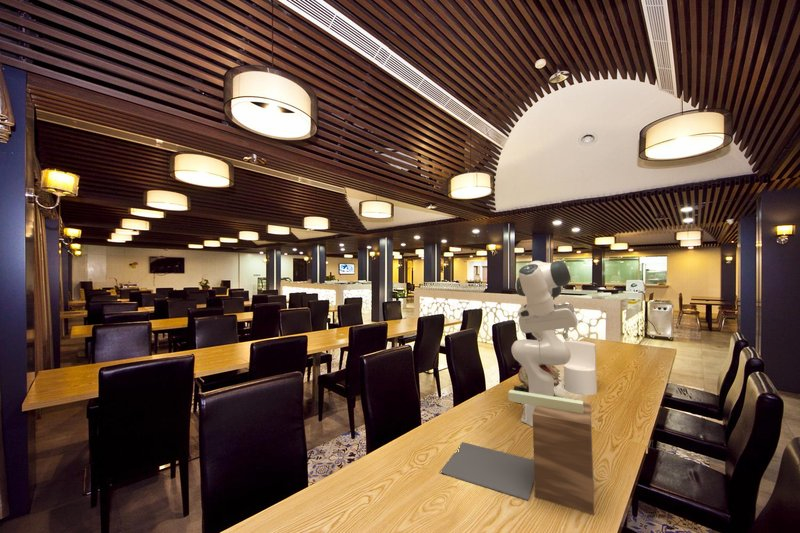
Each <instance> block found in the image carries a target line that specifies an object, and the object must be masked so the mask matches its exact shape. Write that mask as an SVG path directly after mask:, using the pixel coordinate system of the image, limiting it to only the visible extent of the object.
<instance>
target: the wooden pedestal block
mask: <svg viewBox="0 0 800 533" xmlns="http://www.w3.org/2000/svg"><path fill="white" fill-rule="evenodd" d="M591 406H592V405H591V403H589V402H583V410H584V411H583V414H581V413H575V412H570V411H564V410H558V409H552V408H547V407H541V406H536V407H535V409H534V412H533V427H532V438H533V460H534V477H535V479H534V498H537V499H540V500H544V501H547V502H550V503H554V504H556V505H559V506H563V507H566V508H570V509H572V510H576V511H579V512H582V513H586V514H589V515H593V516H594V515H595V503H594V502H595V500H594V496H595V495H594V492H595V491H594V488H595V487H594V486H595V485H594V457H593V456H594V454H593V433H592V432H593V431H592V407H591Z"/></svg>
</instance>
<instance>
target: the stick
mask: <svg viewBox="0 0 800 533" xmlns="http://www.w3.org/2000/svg"><path fill="white" fill-rule="evenodd" d="M507 393H508V402H513V403H518V404H519V403H523V404H529V405H535V406H541V407H547V408H552V409H558V410H564V411H570V412H575V413H581V414H583V411H584V410H583V403H584V401H583V400H579V399H578V400H577V399H572V398H567V397H559V396H555V397H554V396H547V395H541V394H534V393H528V392H522V391H515V390H514V389H509V391H508V392H507ZM523 404H522V405H523Z"/></svg>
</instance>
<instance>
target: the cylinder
mask: <svg viewBox="0 0 800 533" xmlns="http://www.w3.org/2000/svg"><path fill="white" fill-rule="evenodd" d="M563 343H565V344H566V345H567V346H568V347H569V349H570V352H571V357H570V360H569V361H568V363H567V364H563V377H564V378H563V380H564V381H563V382H564V390H566V391H567V392H569V393H572V394H575V395H576V394H577V395H582V396H593V395H596V394H597V393H598V385H597V384H598V383H597V382H598V380H597V379H598V378H597V358H596V357H597V355H596V350H597V349H596V343H593V342H592V341H591V342H590V341H586V340H565V341H563Z"/></svg>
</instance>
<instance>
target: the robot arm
mask: <svg viewBox="0 0 800 533" xmlns="http://www.w3.org/2000/svg"><path fill="white" fill-rule="evenodd" d="M571 276H572V275H571V270H570V268H569V266H568V265H567V264H566V263H565V262H563V261H561V260H559V259H558V260H555V261H553V262H543V261H541V260H533V261H530V262H529V263H528V264H527V265H523V266H522V267H521V268H519V270H518V277H517V279H516V281H515V286H514V287H515V290H516V293H517V295H518V296H520V297H521V296H522V297H526V303H525V304H523V305H521V306H520V307H519V309H518V312H517V316H518V326H519V329H520V331H521V333H522V334H530V333H531V335H532V336H533V337H534V338H536V339H518V340H515V341H514V342H513V343H512V345H511V349H510V350H511V355H512V356H513V359H514V360H515V361H517V362H518V363H519V364H521V365H522V366H523V367H524V369H525V371H526V373H527V376H528V384H529V391H528V393H534V394H541V395H547V396H554V397H556V394H555V387H554V379H553V377H552V376H551V375H550V374H549V373H548V372H546V371H544V370H542V369H541V368H540V367H539V364H548V365H554V366H562V365H563V366H564V364H567V363H568V361H569V360H570V357H571V352H570V349H569V347H568V346H567V345H566V344H565V343H564V341H562V340H561V339H560V338H559V337H558V336H557V335H556V333H555V332H554V330H561V329H562V330H564V331H565V332H562V337H563V340H566V339H567V340H569V334H568V333H569V329H570V328H576V327H577V325H578V318H577V315H576V314H575V307H574V306H573V304H571V303H568V302H562V303H554V300H555V298H557V297H559V296H560V295H561V294H562V292H563V289H564V288H563V287H565V286H567V285H568V284H569V283H570V281H571V278H572V277H571ZM521 365H520V366H521ZM522 366H521V367H522ZM522 405H523V407H522V408H523V411H522V414H521V418H520V422H521V423H525V424H527V425H529V426H530V427H531V428H533V412H534V409H535V407H536V406H535V405H529V404H522Z"/></svg>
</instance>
